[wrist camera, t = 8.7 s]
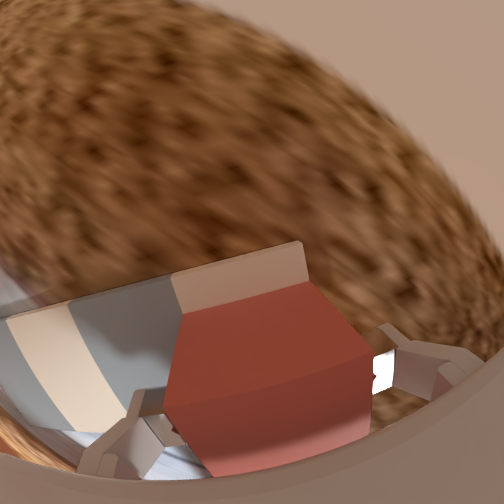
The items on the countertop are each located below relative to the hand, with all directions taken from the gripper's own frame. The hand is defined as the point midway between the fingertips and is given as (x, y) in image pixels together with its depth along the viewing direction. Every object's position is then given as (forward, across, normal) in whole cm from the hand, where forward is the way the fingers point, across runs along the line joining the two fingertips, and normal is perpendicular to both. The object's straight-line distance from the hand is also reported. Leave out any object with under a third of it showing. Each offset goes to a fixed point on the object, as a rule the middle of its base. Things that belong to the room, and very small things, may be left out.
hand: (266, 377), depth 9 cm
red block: (+2, 0, 0) cm, 2 cm away
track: (+2, -7, 0) cm, 8 cm away
